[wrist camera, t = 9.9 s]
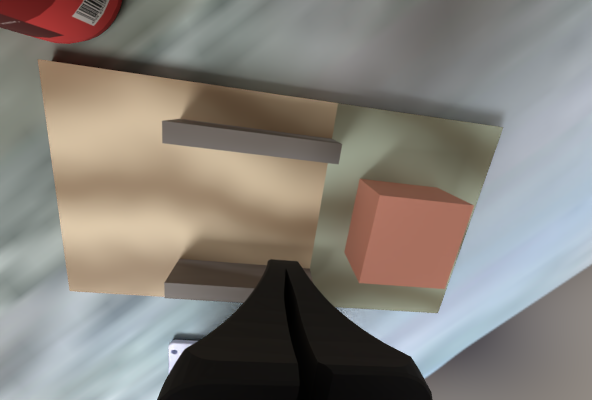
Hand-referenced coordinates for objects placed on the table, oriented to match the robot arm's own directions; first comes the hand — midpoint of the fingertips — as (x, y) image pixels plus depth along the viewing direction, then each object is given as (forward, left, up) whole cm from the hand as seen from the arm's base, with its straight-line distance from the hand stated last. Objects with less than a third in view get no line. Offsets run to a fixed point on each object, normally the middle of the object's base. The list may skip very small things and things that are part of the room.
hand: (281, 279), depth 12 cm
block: (0, -9, -8) cm, 12 cm away
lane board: (0, 0, -9) cm, 9 cm away
